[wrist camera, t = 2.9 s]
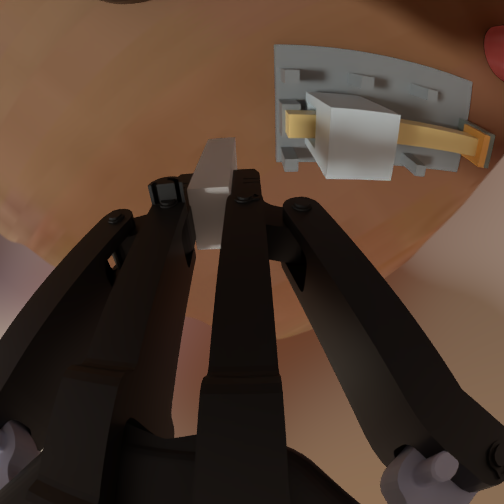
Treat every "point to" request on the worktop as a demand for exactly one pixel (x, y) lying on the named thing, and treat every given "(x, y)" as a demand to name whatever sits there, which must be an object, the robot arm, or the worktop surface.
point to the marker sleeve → (352, 136)
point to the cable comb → (385, 94)
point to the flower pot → (495, 50)
